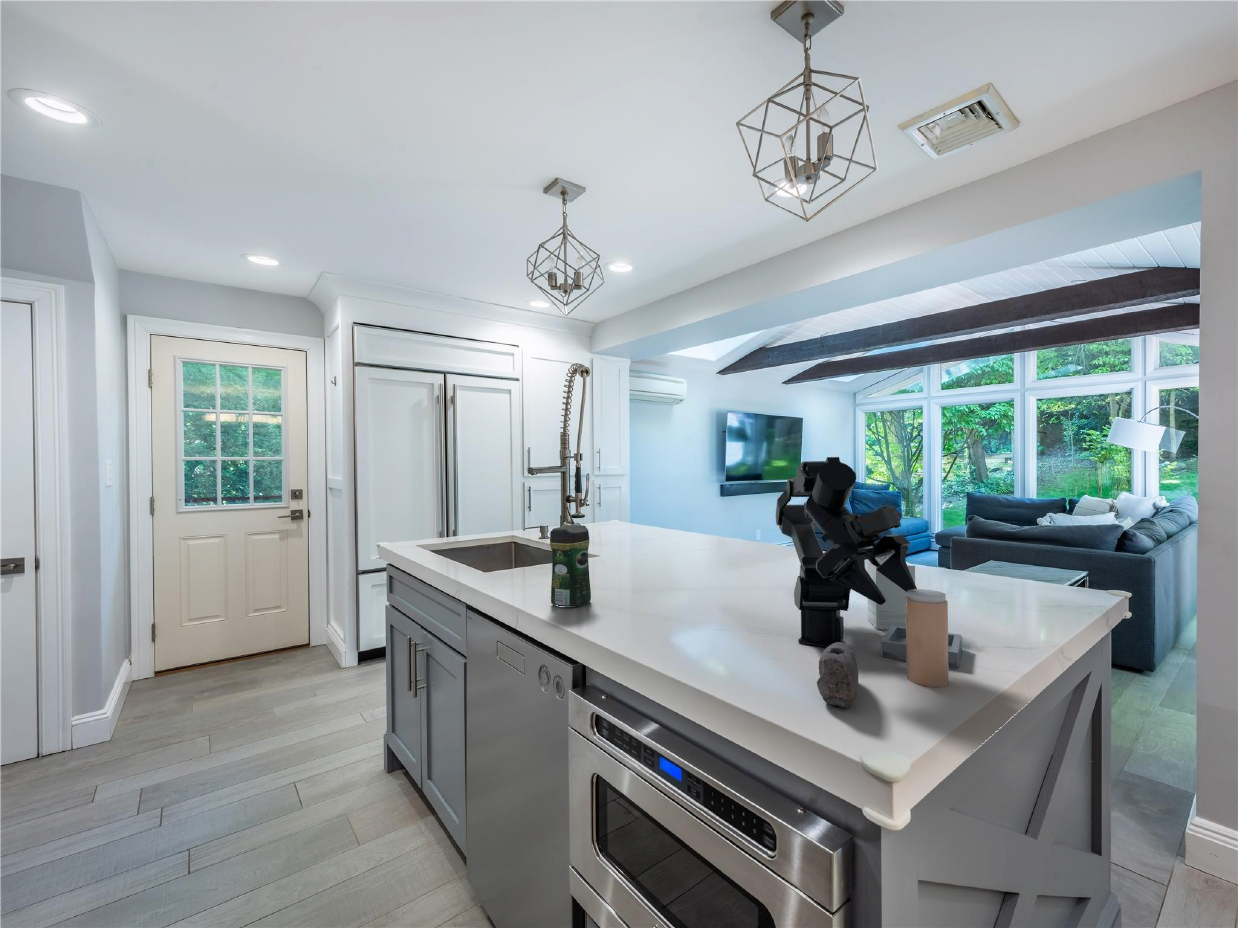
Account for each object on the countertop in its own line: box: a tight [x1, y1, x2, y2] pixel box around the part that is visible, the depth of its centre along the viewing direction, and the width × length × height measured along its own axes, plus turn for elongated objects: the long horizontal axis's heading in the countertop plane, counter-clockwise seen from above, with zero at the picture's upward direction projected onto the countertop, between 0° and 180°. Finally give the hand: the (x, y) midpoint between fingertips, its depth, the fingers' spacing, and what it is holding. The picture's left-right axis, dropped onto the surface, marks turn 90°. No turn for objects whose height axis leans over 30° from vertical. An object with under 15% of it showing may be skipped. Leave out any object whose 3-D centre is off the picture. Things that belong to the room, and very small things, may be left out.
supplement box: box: [866, 559, 916, 631], centre depth 112 cm, size 7×7×13 cm
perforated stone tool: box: [816, 642, 859, 708], centre depth 79 cm, size 15×5×7 cm, turn 154°
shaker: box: [905, 588, 950, 688], centre depth 83 cm, size 6×6×13 cm
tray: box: [880, 625, 963, 670], centre depth 95 cm, size 11×11×2 cm
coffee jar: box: [549, 524, 592, 607], centre depth 132 cm, size 10×8×19 cm
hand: (900, 598), depth 86 cm, fingers open, 9 cm apart
